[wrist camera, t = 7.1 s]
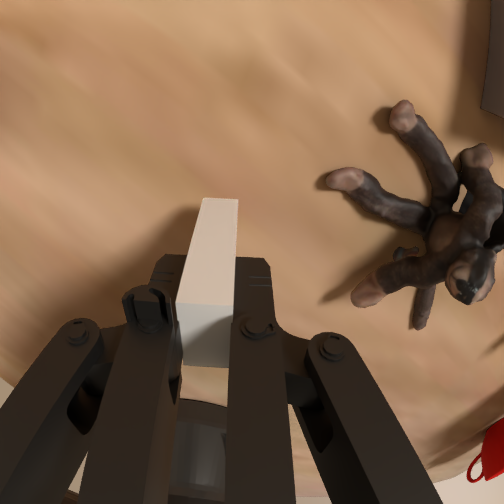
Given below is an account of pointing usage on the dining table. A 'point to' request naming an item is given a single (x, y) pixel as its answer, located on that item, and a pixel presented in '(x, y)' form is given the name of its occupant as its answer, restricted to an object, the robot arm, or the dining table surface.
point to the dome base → (495, 63)
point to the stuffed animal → (433, 222)
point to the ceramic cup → (491, 453)
